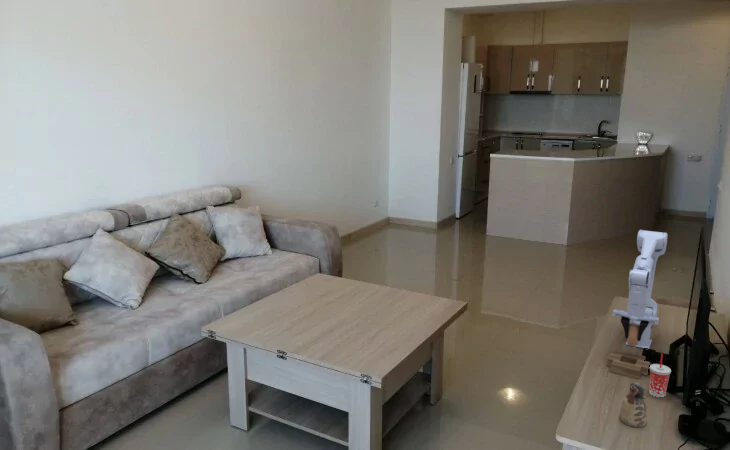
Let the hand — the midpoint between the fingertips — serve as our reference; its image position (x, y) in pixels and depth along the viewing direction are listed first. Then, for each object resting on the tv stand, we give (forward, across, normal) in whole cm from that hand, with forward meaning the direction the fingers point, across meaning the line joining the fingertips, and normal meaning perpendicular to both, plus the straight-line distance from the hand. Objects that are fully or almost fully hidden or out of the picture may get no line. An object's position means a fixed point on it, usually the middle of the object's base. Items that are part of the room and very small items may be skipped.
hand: (632, 338), depth 201 cm
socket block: (+9, 0, -5) cm, 11 cm away
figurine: (+10, +7, -40) cm, 42 cm away
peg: (+2, 0, 0) cm, 2 cm away
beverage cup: (+9, +11, -19) cm, 24 cm away
